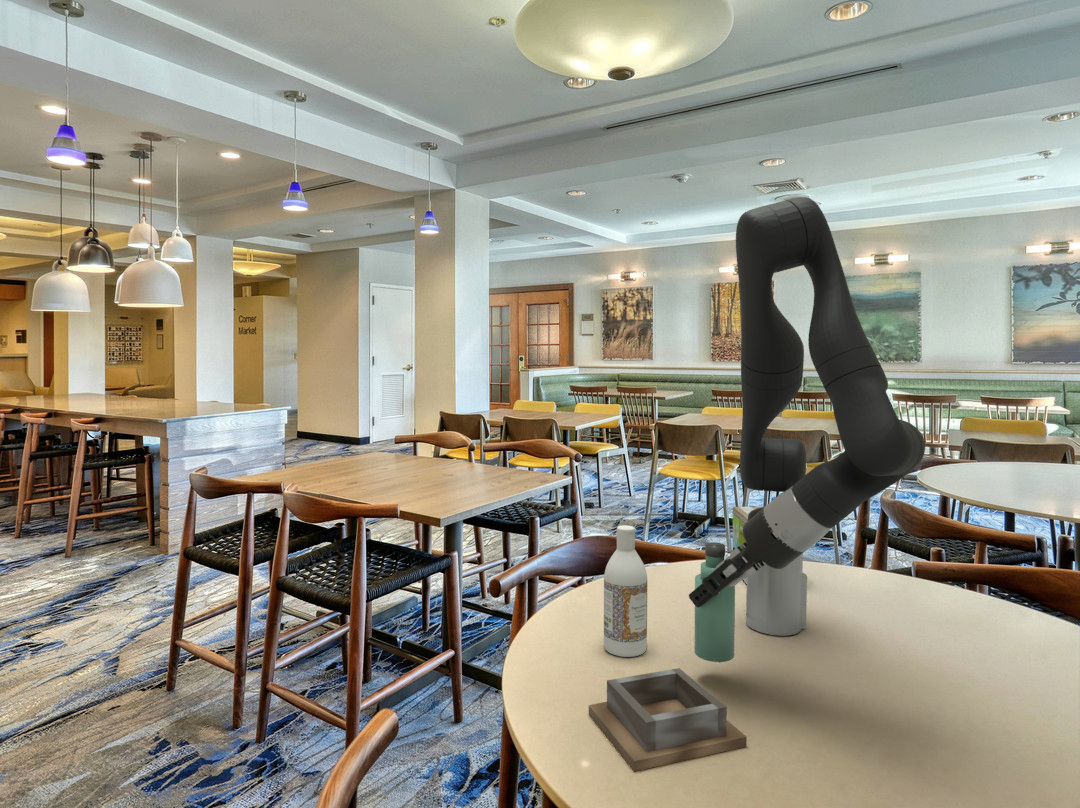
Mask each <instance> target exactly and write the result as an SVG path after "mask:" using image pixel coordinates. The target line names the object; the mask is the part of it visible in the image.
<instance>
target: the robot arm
mask: <svg viewBox="0 0 1080 808" xmlns="http://www.w3.org/2000/svg"><path fill="white" fill-rule="evenodd" d="M735 228H736V229H735V230H736V232H735V252H736V253H735V255H736V256H735V257H736V264H737V265H736V267H737V275H738V284H739V294H740V309H741V311H740V313H741V314H740V315H741V342H740V343H741V344H740V345H741V350H740V380H741V382H740V383H741V400H742V401H741V402H742V403H741V404H742V406H741V407H742V423H741V434H740V435H741V436H740V437H741V438H740V452H739V472H740V473H739V476H740V479H741V482H742V484H743V486H744V487H745V488H746V489H749V490H752V491H761V492H762V491H764V492H777V493H780V494H778V495H777V496H776V497H774V498H773V499H772V500H771V501H770V502H769V503H768V504H766V505H765V506H760V507H761V508H758V509H755V510H752V511H751V512H750V513H749V514H748V522H746V523H745V524H744V526H743V536H744V539H745V540H746V542H745V543H743V544H742V545H741V546H738V547H737V548H735V549H734V550H733V549H732V551H730V554H729V555H728V556H727V557H726V558H724V560H723V561H722V562H721V563H719V564H718V565H717V566H716V570H715V571H714V572H712V573H711V574H710V575H709V576H708V577H705V578H704V579H703V581H702V584H701V585H700V586H699V587H697V588H696V589H695V588H694V589H693V591H691V592H690V593H689V594H688V598H689V599H690V601H691V602H692V604H693V605H694V607H695V606H696V607H701V606H702V605H703V604H704V603H706V602H707V601H708V600H709V599H711V598H712V597H713V596H715V595H716V596H717V595H719V594H720V593H721V591H722V590H723V589H724V588H726V587H727V586H731V587H733V586H735V587H736V585H737V584H738V583H740V582H741V581H743V580H742V579H744V578H746V577H747V585H746V593H745V594H746V602H745V605H746V606H745V624H746V626H747V627H749V628H750V629H752V630H754V631H757V632H759V633H762V634H766V635H771V636H780V637H781V636H783V637H785V636H792V635H797V634H798V633H801V631H802V630H803V629H807V611H808V610H807V602H808V601H807V599H808V575H807V574H806V573H804V571H803V568H804V567H803V566H804V565H803V564H804V563H803V562H804V553H805V552H806V551H808V550H809V549H810V548H812V547H813V546H814V545H815V544H817V543H818V542H819V541H820V540H822V539H823V538H824V536H826V534H828V532H829V531H831V529H833V528H834V527H835V526H837V525H838V524H839V523H840V522H841V521H843V520H844V519H846V518H847V517H848V516H850V515H851V514H852V513H853V512H855V510H856V509H858V508H859V507H860V506H861V505H862V504H864V503H865V502H866V501H868V500H869V499H870V498H872V497H874V496H876V495H878V494H880V493H882V492H883V491H884V490H886V489H888V488H889V487H891V486H892V485H894V484H895V483H897V482H899V481H901V480H902V479H903V478H904V477H906V476H907V475H909V474H910V473H911V472H912V471H913V470H915V469H916V468H917V467H918V466H919V465H920V464H921V462H922V460H923V458H924V456H925V452H926V442H925V441H926V440H925V438H924V436H923V435H922V432H921V431H920V430H919V428H917V427H916V426H915V425H914V424H912V423H910V422H909V421H906V420H902V419H899V417H898V415H897V413H896V411H895V409H894V407H893V404H892V402H891V400H890V398H889V395H888V393H887V391H888V388H889V383H888V378H887V376H886V373H885V371H884V369H883V367H882V364H881V363H880V360H879V359H878V357H877V355H876V352H875V351H874V348H873V347H872V345H871V343H870V341H869V340H868V339H869V338H868V337H867V335H866V333H865V331H864V329H863V326H862V324H861V322H860V318H859V317H858V313H857V310H856V308H855V306H854V303H853V299H852V295H851V293H850V289H849V286H848V282H847V279H846V276H845V272H844V269H843V265H842V263H841V259H840V256H839V252H838V250H837V248H836V243H835V241H834V238H833V234H832V231H831V228H830V225H829V223H828V221H827V218H826V216H825V214H824V212H823V210H822V209H821V207H820V206H819V205H818V204H817V202H816V201H814V199H812V198H810V197H808V196H807V197H806V196H800V197H799V196H797V197H793V198H790V199H784V200H781V201H778V202H774V203H770V204H766V205H762V206H758V207H754V208H752V209H749V210H747V211H745V212H744V213H742V214H741V215H740V216H739V219H738V221H737V224H736V227H735ZM803 266H804V268H805V270H806V271H807V273H808V274H809V277H810V280H811V282H812V287H813V305H812V312H811V318H810V325H809V331H808V343H807V344H808V351H809V356H810V360H811V361H812V364H813V366H814V369H815V371H816V372H817V376H818V377H819V379H820V381H821V384H822V386H823V388H824V390H825V392H826V395H827V396H828V398H829V399H830V402H831V405H832V411H833V415H834V420H835V423H836V426H837V431H838V434H839V438H840V440H841V443H842V446H843V448H844V451H843V452H842V453H840V454H839V455H838V456H836V457H835V458H833V459H830V460H828V461H825V462H822V463H820V464H818V465H817V466H815V467H814V468H812V469H811V470H810V471H808V472H807V453H806V452H807V450H806V447H805V445H804V443H803V442H802V441H801V440H799V439H793V438H770V437H769V438H767V437H766V438H765V437H764V434H765V432H767V429H768V427H769V426H770V425H771V423H772V422H773V421H774V419H775V418H776V417H777V416H778V415H779V414H781V412H782V411H783V410H784V409H785V408H787V406H788V405H789V404H790V403H791V402H792V400H793V399H794V398H795V397H796V396H797V394H798V393H799V390H800V389H801V386H802V384H803V375H804V362H805V361H804V359H805V352H804V351H805V349H804V348H805V347H804V344H803V340H802V338H801V337H800V335H799V332H797V330H796V329H795V327H794V326H793V325H792V324H791V322H790V321H789V320H788V319H787V318H786V316H785V315H784V314H783V313H782V311H781V310H780V309H779V307H778V306H777V304H776V302H775V300H774V296H773V288H772V287H773V283H772V282H773V277H774V275H775V273H780V272H783V271H788V270H791V269H795V268H798V267H803ZM713 578H715V579H716V581H717V582H718V583H719V585H720V586H719V585H718V584H717V583H716V581H715V580H714V579H713Z"/></svg>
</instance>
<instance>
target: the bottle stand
mask: <svg viewBox="0 0 1080 808" xmlns="http://www.w3.org/2000/svg"><path fill="white" fill-rule="evenodd" d="M727 709H728V707H727V706H726V705H725V704H724V703H723V702H722V701H720V700H719V699H718V698H717V697H715V696H714V695H713V694H712V693H711V692H709V691H708V690H707V689H705V688H704V687H703V686H702V685H701V684H699V683H698V682H697V681H696V680H694V678H692V677H691V676H690V675H689V674H687V673H686V672H685V671H684V670H683V669H681V668H680V667H678V668H671V669H666V670H659V671H655V672H654V671H653V672H648V673H643V674H642V673H641V674H636V675H631V676H624V677H617V678H613V679H607V680H606V701H604V702H597V703H594V704H593V703H592V704H588V715H589V717H590V718H591V719H592V720H593V721H594V723H595V724H596V725H597V726H598V727H599V729H600V731H601V732H602V733H603V734H604V735H605V737H606V738H607V739H608V740H609V742H610V743H611V744H612V745H613V747H614V748H615V749H616V750H617V751H618V753H619V754H620V756H622V758H623V759H624V761H625V760H626V761H625V762H626V764H628V765H630V766H629V767H630V768H631V769H632V770H633V772H639V771H643V770H648V769H652V768H656V767H660V766H661V767H662V766H664V765H669V764H671V765H672V764H674V763H675V764H676V763H679V762H684V761H687V760H693V759H697V758H702V757H707V756H709V755H714V754H719V753H723V752H728V751H733V750H737V749H742V748H747V746H748V744H747V741H748V740H747V739H748V738H747V735H745V734H744V733H743V732H742V731H741V730H739V729H738V728H737V727H736V726H735V725H734V724H732V723H731V722H730V721H729V720H728V719H727V716H728V714H727V712H728V710H727Z"/></svg>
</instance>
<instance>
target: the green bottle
mask: <svg viewBox="0 0 1080 808" xmlns="http://www.w3.org/2000/svg"><path fill="white" fill-rule="evenodd" d="M704 555H705V561H704V562H701V563H700V573H699V574H697V575H695V576H694V590H695V589H696V588H697V587H699V586H700V585H701V584H702V581H703V579H704V578H705V577H708V576H709V575H710V574H711V573H712V572H714V571H715V570H716V566H717V565H718V564H719V563H721V562H722V561H723V560H725V556H726V545H725V544H724V543H722V542H712V541H711V542H706V543H705V544H704ZM713 579H714V580H715V581H716V579H715V578H713ZM716 583H717V584H718V585H719V583H718V582H717V581H716ZM719 586H720V585H719ZM735 605H736V585H735V586H733V587H731V586H727V587H726V588H724V589H723V590H722V591H721V593H720V594H719V595H717V596H716V595H715V596H713V597H712V598H711V599H709V600H708V601H707V602H706V603H704V604H703V605H702V606H701V607H696V606H695V605H694V650H693V651H694V654H695V655H696V656H697V657H698V658H700V659H701V660H704V661H707V662H711V663H712V662H713V663H725V662H730V661H732V660H733V659H734V658H735V635H736V633H735V627H736V625H735V623H736V621H735V620H736V619H735V618H736V616H735V615H736V614H735V612H736V606H735Z"/></svg>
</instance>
